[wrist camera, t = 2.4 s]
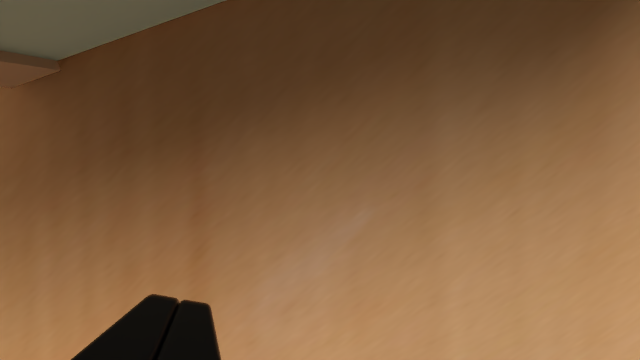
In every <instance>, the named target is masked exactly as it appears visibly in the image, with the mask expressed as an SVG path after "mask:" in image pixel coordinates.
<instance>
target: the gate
mask: <svg viewBox="0 0 640 360" xmlns="http://www.w3.org/2000/svg"><path fill="white" fill-rule="evenodd" d="M223 1H226V0H0V87H4V88H13V87H16V86H19V85H22V84H25V83H27V82H30V81H33V80H36V79H39V78H41V77H44V76H47V75H50V74H53V73H55V72H58V71H61V69H60V67H59V64H58V60H61V59H64V58H67V57H69V56H72V55H75V54H78V53H80V52H83V51H86V50H89V49H92V48H94V47H97V46H100V45H103V44H106V43H108V42H111V41H114V40H117V39H120V38H122V37H125V36H128V35H131V34H134V33H136V32H139V31H142V30H145V29H147V28H150V27H153V26H156V25H159V24H161V23H164V22H167V21H170V20H173V19H175V18H178V17H181V16H184V15H187V14H189V13H192V12H195V11H198V10H201V9H203V8H206V7H209V6H212V5H214V4H217V3H220V2H223Z"/></svg>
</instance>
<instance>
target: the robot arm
mask: <svg viewBox="0 0 640 360" xmlns="http://www.w3.org/2000/svg"><path fill="white" fill-rule="evenodd" d="M71 360H221V356H220V352H219V347H218V342H217V337H216V332H215V327H214V322H213V317H212V312H211V308H210V306H209V305H208V304H206V303H201V302H196V301H190V300H183V301H181V302H180V303H179V301H178V299H177V298H173V297H167V296H162V295H156V294H152V295H149V296H147V297H146V298H145V299H144V300H142V301H141V302H140V303H139V304H138V305H136V306H135V307H134V308H133V309H131V310H130V311H129V312H128V313H127V314H125V315H124V316H123V317H122V318H121V319H119V320H118V321H117V322H116V323H115V324H113V325H112V326H111V327H110V328H109V329H107V330H106V331H105V332H104V333H102V334H101V335H100V336H99V337H98V338H96V339H95V340H94V341H93V342H92V343H90V344H89V345H88V346H87V347H86V348H84V349H83V350H82V351H81V352H79V353H78V354H77V355H76V356H75V357H73V358H72V359H71Z"/></svg>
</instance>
